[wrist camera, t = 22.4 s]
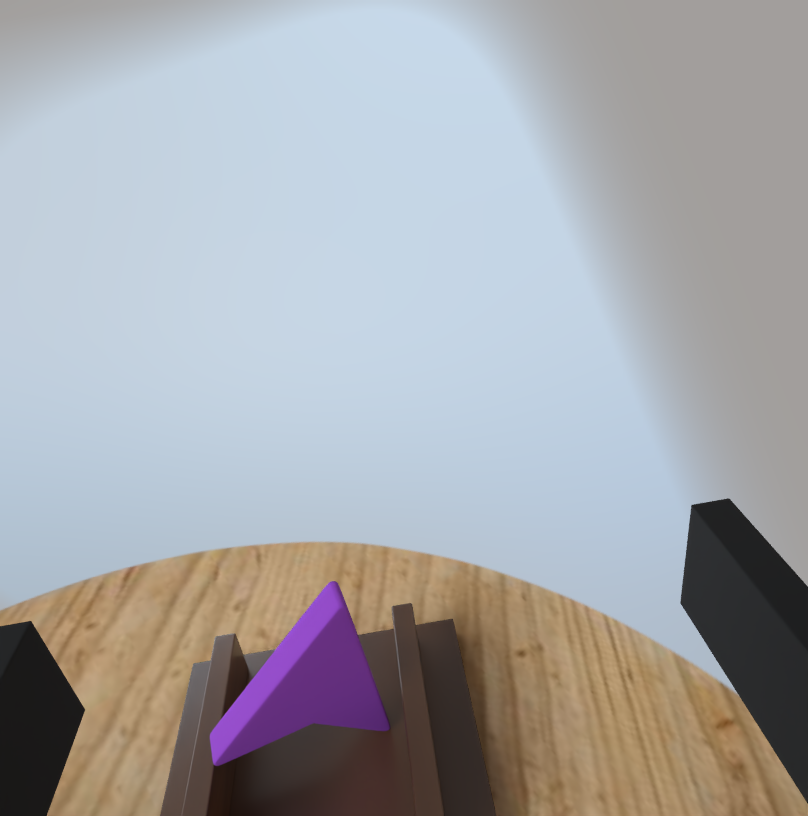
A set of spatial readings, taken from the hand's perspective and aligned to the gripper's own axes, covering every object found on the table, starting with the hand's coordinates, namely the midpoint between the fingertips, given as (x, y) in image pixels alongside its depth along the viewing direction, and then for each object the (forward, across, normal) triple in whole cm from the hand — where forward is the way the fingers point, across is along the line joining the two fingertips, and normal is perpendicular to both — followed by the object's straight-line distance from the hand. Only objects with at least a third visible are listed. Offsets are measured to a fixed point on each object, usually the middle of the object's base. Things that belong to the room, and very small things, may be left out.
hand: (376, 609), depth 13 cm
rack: (+11, -5, -22) cm, 26 cm away
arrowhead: (+11, -6, -20) cm, 23 cm away
